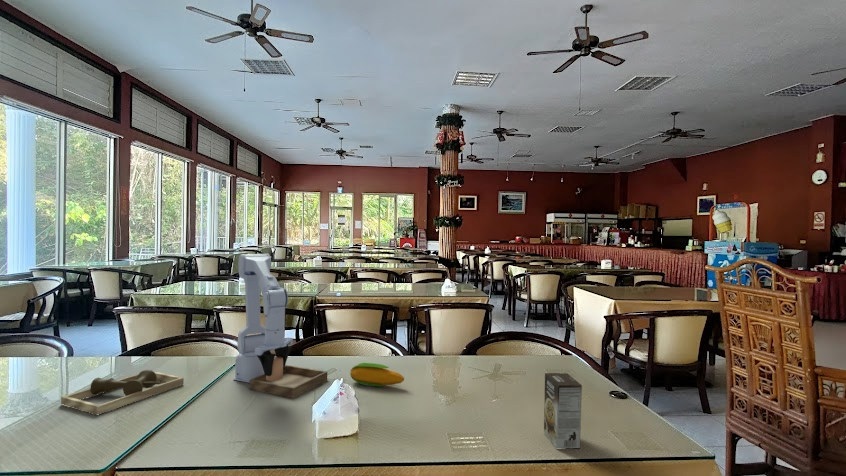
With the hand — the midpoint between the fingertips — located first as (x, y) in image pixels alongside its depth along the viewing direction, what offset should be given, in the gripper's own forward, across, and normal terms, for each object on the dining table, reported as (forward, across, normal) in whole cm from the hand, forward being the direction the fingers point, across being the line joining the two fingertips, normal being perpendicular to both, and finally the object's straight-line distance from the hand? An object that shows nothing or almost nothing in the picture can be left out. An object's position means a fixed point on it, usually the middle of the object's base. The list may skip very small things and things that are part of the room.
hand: (274, 372), depth 136 cm
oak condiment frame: (+9, -16, +45) cm, 49 cm away
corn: (+9, +26, -22) cm, 35 cm away
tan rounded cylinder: (+2, 0, 0) cm, 2 cm away
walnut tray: (+9, +14, +5) cm, 17 cm away
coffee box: (+9, +11, -84) cm, 85 cm away
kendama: (+9, -15, +45) cm, 48 cm away
